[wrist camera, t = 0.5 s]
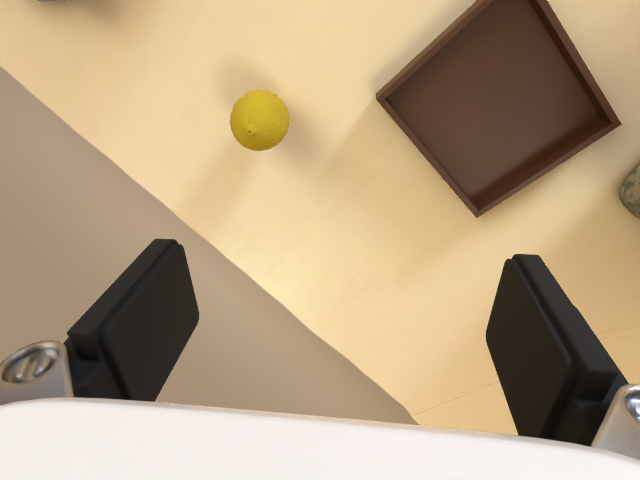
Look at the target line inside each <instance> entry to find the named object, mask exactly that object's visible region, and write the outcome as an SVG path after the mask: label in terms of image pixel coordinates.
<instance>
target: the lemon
mask: <svg viewBox="0 0 640 480" xmlns="http://www.w3.org/2000/svg"><path fill="white" fill-rule="evenodd" d="M230 124H231V130H232V132H233V135H234V137H235V138H236V139H237V141H238V142H239V143H240V144H241V145H243V146H244V147H246V148H248V149H251V150H256V151H262V150H267V149H270V148H272V147H274V146H276V145H277V144H278V143H279V142H280V141H281V140H282V139H283V137H284V136H285V134H286V132H287V129H288V125H289V116H288V111H287V108H286V106H285V104H284V103H283V101H282V100H281V99H280V98H279V97H278V96H276V95H275V94H273V93H271V92H269V91H264V90H255V91H251V92H249V93H246V94H245V95H243V96H242V97H241V98H239V100H238V101H237V102H236V104H235V105H234V107H233V110H232V113H231V119H230Z"/></svg>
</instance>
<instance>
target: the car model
mask: <svg viewBox="0 0 640 480" xmlns="http://www.w3.org/2000/svg"><path fill="white" fill-rule="evenodd" d="M39 1H44V2H50V1H56V0H39ZM61 1H69V0H61Z"/></svg>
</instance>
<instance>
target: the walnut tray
mask: <svg viewBox="0 0 640 480" xmlns="http://www.w3.org/2000/svg"><path fill="white" fill-rule="evenodd" d="M376 99H377V101H378V102H379V103H380V104H381V105H382V107H383V108H384V109H385V110H386V111H387V112H388V114H389V115H390V116H391V117H392V118H393V120H394V121H395V122H396V123H397V124H398V125H399V127H400V128H401V129H402V130H403V131H404V133H405V134H406V135H407V136H408V137H409V138H410V140H411V141H412V142H413V143H414V144H415V146H416V147H417V148H418V149H419V150H420V151H421V153H422V154H423V155H424V156H425V157H426V159H427V160H428V161H429V162H430V163H431V164H432V166H433V167H434V168H435V169H436V170H437V172H438V173H439V174H440V175H441V176H442V177H443V179H444V180H445V181H446V182H447V183H448V184H449V186H450V187H451V188H452V189H453V190H454V192H455V193H456V194H457V195H458V196H459V197H460V199H461V200H462V201H463V202H464V203H465V205H466V206H467V207H468V208H469V209H470V210H471V212H472V213H473V214H474V215H475V216H476V218H478V217H479V216H481V215H482V214H484V213H485V212H487V211H488V210H490V209H492V208H493V207H495V206H496V205H498V204H499V203H501V202H502V201H504V200H505V199H507V198H509V197H510V196H512V195H513V194H515V193H516V192H518V191H519V190H521V189H522V188H524V187H526V186H527V185H529V184H530V183H532V182H533V181H535V180H536V179H538V178H539V177H541V176H543V175H544V174H546V173H547V172H549V171H550V170H552V169H553V168H555V167H556V166H558V165H560V164H561V163H563V162H564V161H566V160H567V159H569V158H570V157H572V156H573V155H575V154H577V153H578V152H580V151H581V150H583V149H584V148H586V147H587V146H589V145H590V144H592V143H594V142H595V141H597V140H598V139H600V138H601V137H603V136H604V135H606V134H607V133H609V132H611V131H612V130H614V129H615V128H617V127H618V126H620V125H621V122H620V121H619V120H618V117H617V116H616V114H615V112H614V111H613V109H612V107H611V106H610V104H609V102H608V101H607V99H606V98H605V96H604V94H603V93H602V91H601V89H600V88H599V86H598V84H597V83H596V81H595V79H594V78H593V76H592V74H591V73H590V71H589V69H588V68H587V66H586V64H585V63H584V61H583V59H582V58H581V56H580V54H579V53H578V51H577V49H576V48H575V46H574V44H573V43H572V41H571V40H570V38H569V36H568V35H567V33H566V31H565V30H564V28H563V26H562V25H561V23H560V21H559V20H558V18H557V16H556V15H555V13H554V11H553V10H552V8H551V6H550V5H549V3H548V1H547V0H477V1H476V2H475V3H474V4H473V5H472V6H471V7H469V8H468V9H467V10H466V11H465V12H464V13H463V14H462V15H461V16H460V17H459V18H458V19H456V20H455V21H454V22H453V23H452V24H451V25H450V26H449V27H448V28H447V29H446V30H445V31H443V32H442V33H441V34H440V35H439V36H438V37H437V38H436V39H435V40H434V41H433V42H432V43H430V44H429V45H428V46H427V47H426V48H425V49H424V50H423V51H422V52H421V53H420V54H419V55H417V56H416V57H415V58H414V59H413V60H412V61H411V62H410V63H409V64H408V65H407V66H406V67H404V68H403V69H402V70H401V71H400V72H399V73H398V74H397V75H396V76H395V77H394V78H393V79H391V80H390V81H389V82H388V83H387V84H386V85H385V86H384V87H383V88H382V89H381V90H380V91H378V92H377V93H376Z"/></svg>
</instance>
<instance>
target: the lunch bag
mask: <svg viewBox="0 0 640 480" xmlns="http://www.w3.org/2000/svg"><path fill="white" fill-rule="evenodd" d="M620 200H621V202H622V204H623V205H624V206H625V207H626V208H627V209H628V210H629V211H630V212H631V213H632V214H633V215H634V216H635V217H637V218H638V219H640V164H639V165H638V166H637V167H636V168H635V170H634V171H633V172H632V173H631V174H630V176H629V177H628V178H627V180H626V181H625V182H624V184H623V185H622V188H621V191H620Z"/></svg>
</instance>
